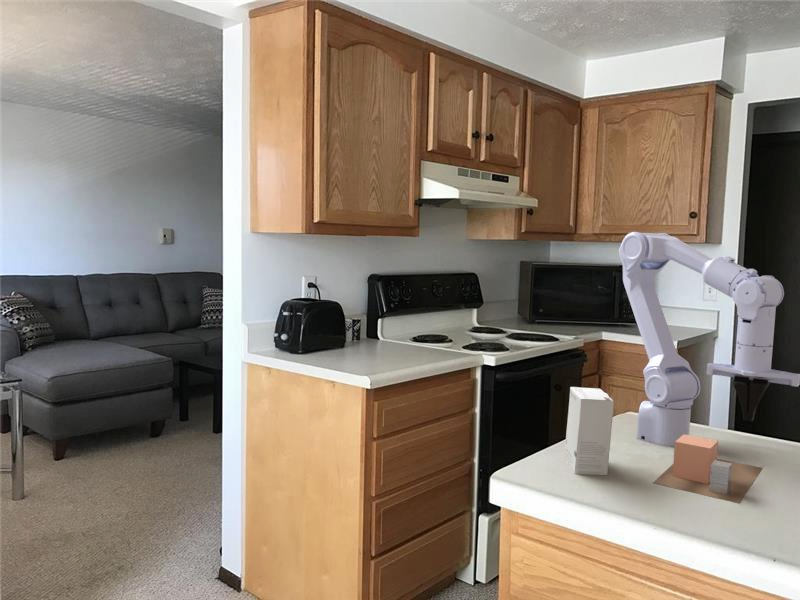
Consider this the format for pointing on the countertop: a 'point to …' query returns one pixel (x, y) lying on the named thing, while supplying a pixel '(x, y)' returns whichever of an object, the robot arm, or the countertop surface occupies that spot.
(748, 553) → the countertop surface
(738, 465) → the board
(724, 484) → the white sugar cube
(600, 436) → the skincare box
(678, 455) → the salmon pink cube
